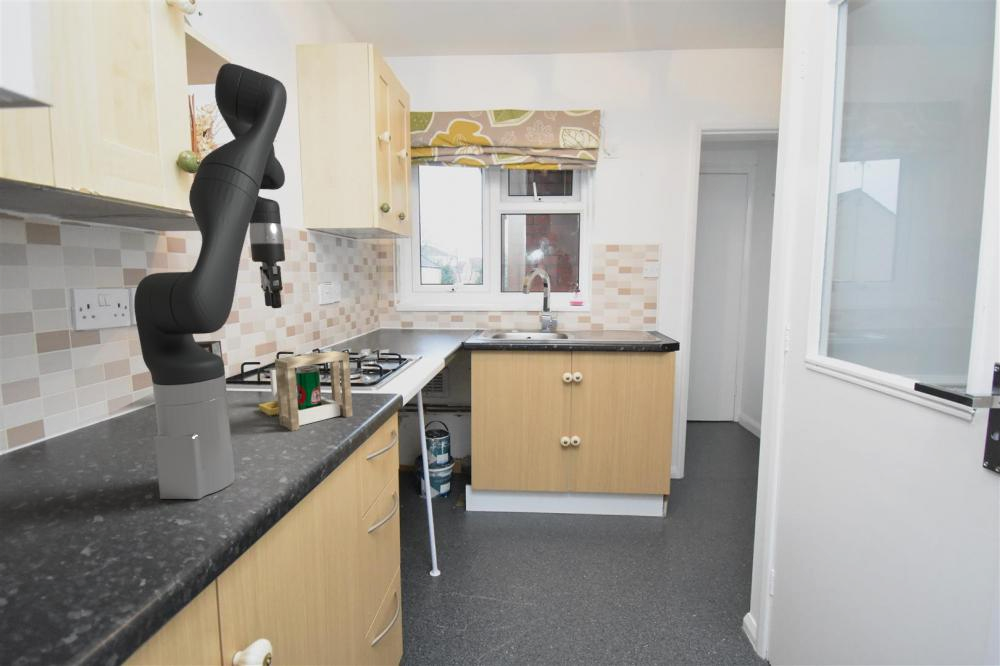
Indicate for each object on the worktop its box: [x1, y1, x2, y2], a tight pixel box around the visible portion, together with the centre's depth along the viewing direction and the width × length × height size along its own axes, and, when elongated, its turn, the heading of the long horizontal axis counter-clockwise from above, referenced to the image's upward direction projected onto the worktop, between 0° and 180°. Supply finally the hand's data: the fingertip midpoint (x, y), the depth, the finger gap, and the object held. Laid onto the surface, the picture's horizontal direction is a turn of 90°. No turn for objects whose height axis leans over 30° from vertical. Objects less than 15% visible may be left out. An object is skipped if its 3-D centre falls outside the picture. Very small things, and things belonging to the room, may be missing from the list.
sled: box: [269, 369, 341, 427], centre depth 111 cm, size 10×22×9 cm, turn 47°
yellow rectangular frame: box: [258, 400, 279, 417], centre depth 115 cm, size 12×7×2 cm, turn 137°
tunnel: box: [274, 350, 354, 432], centre depth 104 cm, size 14×6×15 cm, turn 137°
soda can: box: [295, 364, 322, 410], centre depth 106 cm, size 5×5×12 cm
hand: (273, 307), depth 118 cm, fingers open, 8 cm apart
